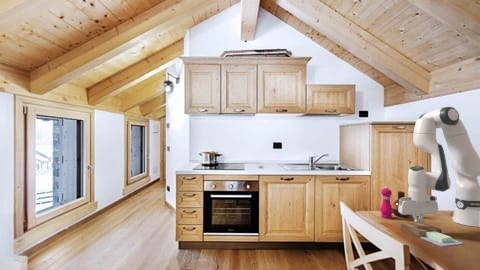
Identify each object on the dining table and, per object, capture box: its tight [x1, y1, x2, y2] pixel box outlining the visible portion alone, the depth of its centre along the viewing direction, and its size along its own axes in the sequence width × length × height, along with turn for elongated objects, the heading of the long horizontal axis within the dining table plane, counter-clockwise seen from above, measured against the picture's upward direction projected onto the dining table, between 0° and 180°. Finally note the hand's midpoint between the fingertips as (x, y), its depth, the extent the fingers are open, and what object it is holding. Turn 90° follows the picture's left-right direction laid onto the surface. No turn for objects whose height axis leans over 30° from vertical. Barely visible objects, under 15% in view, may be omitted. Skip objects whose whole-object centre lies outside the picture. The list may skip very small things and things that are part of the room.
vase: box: [391, 190, 411, 218], centre depth 176 cm, size 11×11×15 cm
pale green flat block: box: [425, 231, 453, 243], centre depth 135 cm, size 6×9×2 cm, turn 12°
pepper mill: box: [379, 185, 393, 220], centre depth 173 cm, size 7×7×20 cm
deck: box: [400, 221, 443, 238], centre depth 146 cm, size 14×12×3 cm
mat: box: [419, 236, 465, 247], centre depth 134 cm, size 13×12×1 cm
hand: (418, 222), depth 147 cm, fingers closed
